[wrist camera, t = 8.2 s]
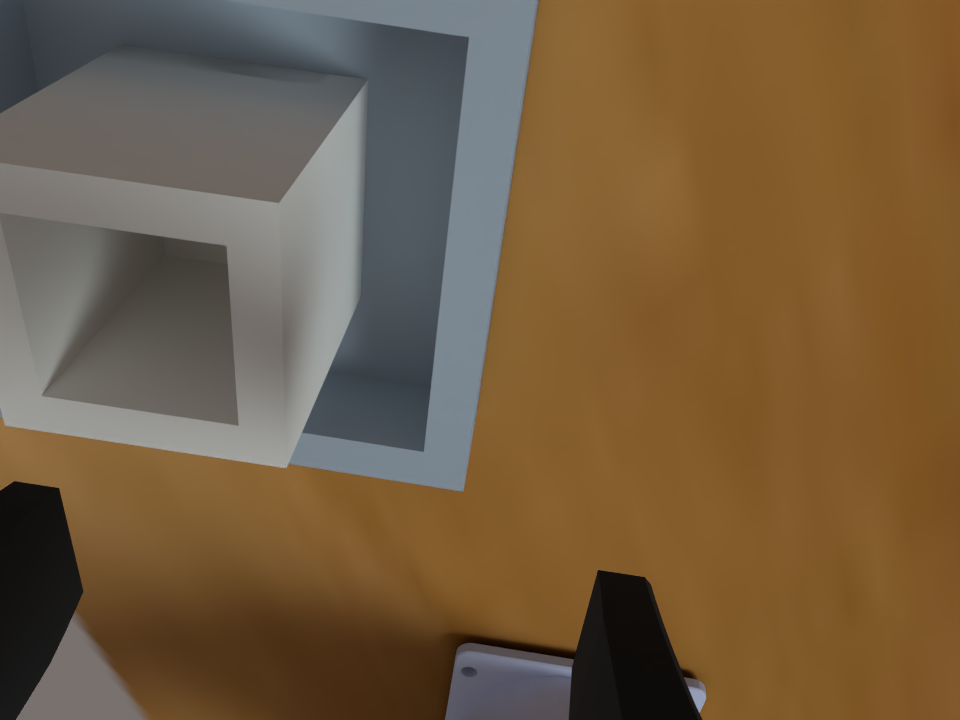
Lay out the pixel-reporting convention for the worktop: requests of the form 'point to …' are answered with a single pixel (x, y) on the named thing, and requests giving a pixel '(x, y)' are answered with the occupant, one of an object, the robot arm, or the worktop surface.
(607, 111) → the worktop surface
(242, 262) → the box
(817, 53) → the worktop surface
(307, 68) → the big crate
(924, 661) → the worktop surface
